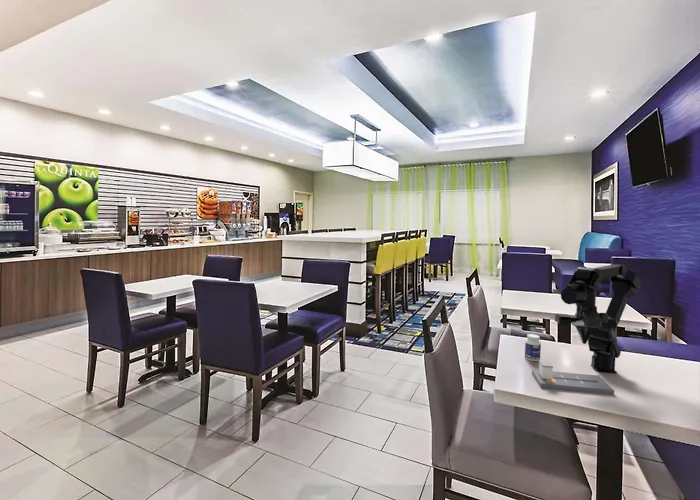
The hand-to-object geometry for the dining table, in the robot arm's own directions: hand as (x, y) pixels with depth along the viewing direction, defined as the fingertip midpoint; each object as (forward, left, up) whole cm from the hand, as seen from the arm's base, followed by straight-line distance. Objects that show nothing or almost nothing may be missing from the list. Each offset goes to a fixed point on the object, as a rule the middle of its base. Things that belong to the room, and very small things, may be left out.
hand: (584, 343), depth 133 cm
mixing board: (+7, +9, -12) cm, 17 cm away
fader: (+15, +9, -10) cm, 20 cm away
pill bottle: (+14, -13, -12) cm, 23 cm away
